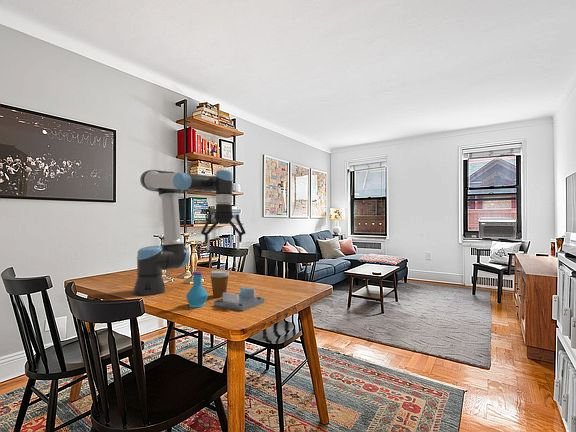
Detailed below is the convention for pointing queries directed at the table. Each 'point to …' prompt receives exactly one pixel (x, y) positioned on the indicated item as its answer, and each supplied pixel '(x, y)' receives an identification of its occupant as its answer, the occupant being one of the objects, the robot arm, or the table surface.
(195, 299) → the perfume bottle
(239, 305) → the base
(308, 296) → the table surface
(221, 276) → the disposable coffee cup
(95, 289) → the table surface
